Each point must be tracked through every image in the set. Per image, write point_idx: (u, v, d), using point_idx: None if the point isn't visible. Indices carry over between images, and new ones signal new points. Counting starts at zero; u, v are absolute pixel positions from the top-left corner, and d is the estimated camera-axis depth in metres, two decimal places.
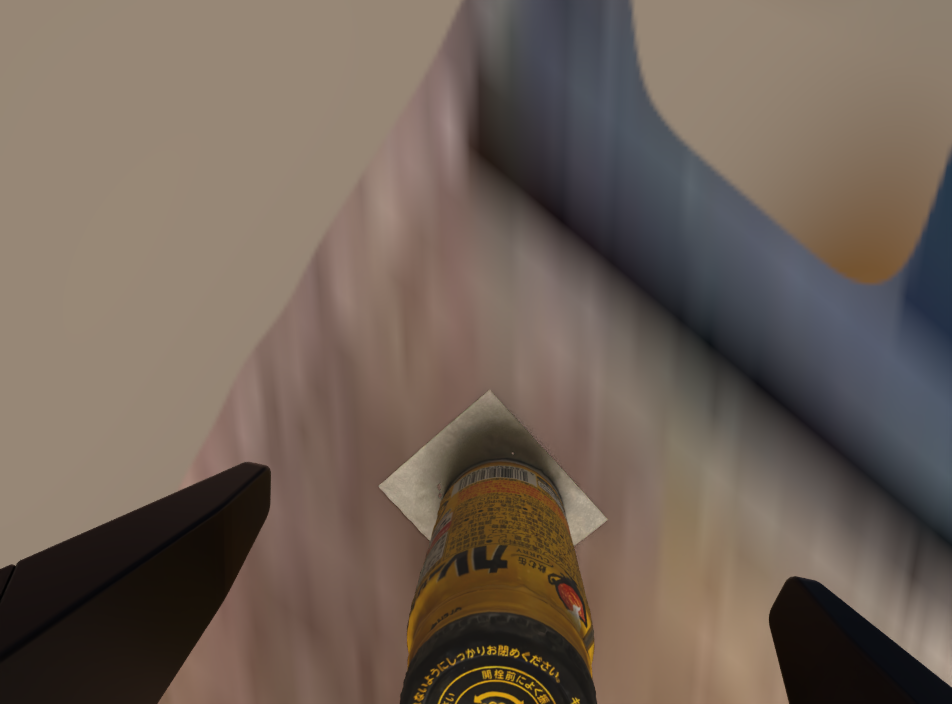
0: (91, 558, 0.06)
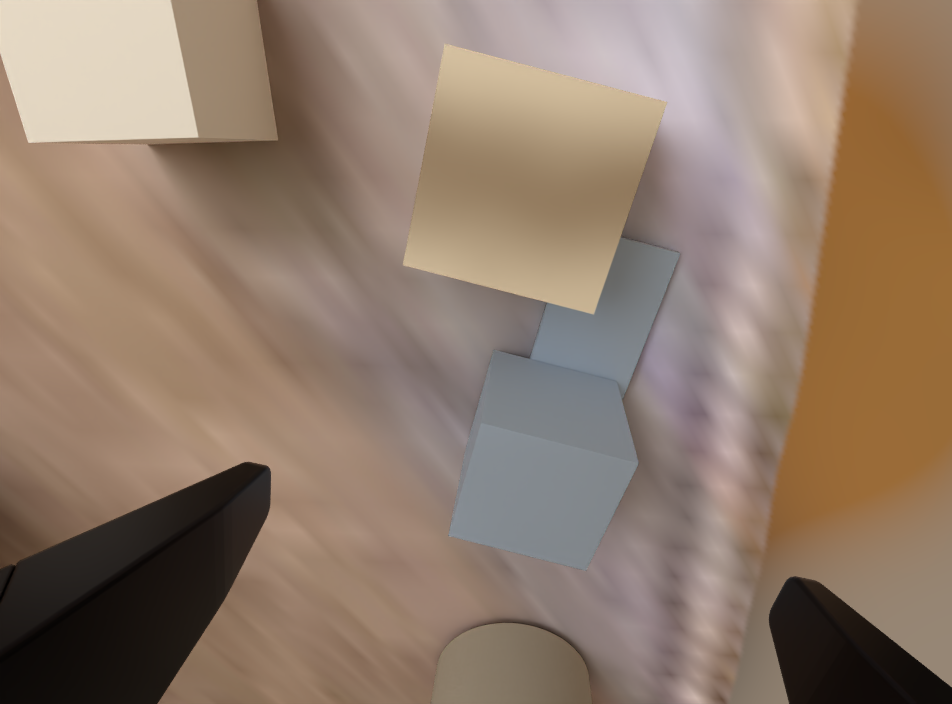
0: (91, 558, 0.06)
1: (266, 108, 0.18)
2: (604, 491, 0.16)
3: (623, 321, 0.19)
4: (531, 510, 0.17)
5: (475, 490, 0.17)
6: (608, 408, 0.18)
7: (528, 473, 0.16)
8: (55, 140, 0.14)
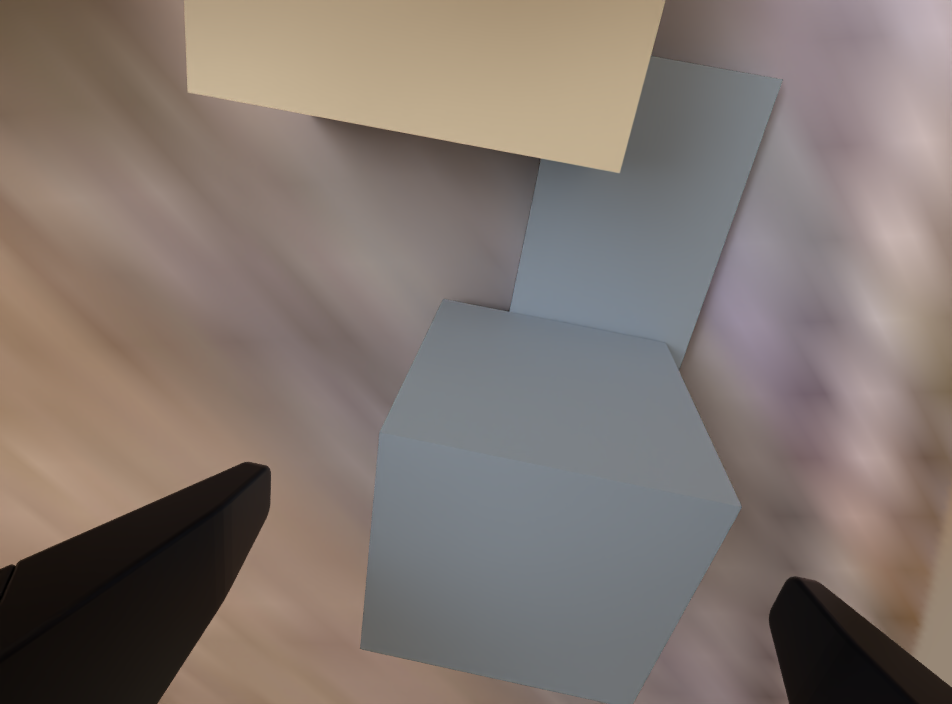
0: (91, 558, 0.06)
1: None
2: (663, 566, 0.08)
3: (674, 228, 0.11)
4: (512, 604, 0.08)
5: (395, 569, 0.08)
6: (656, 389, 0.09)
7: (498, 534, 0.08)
8: None
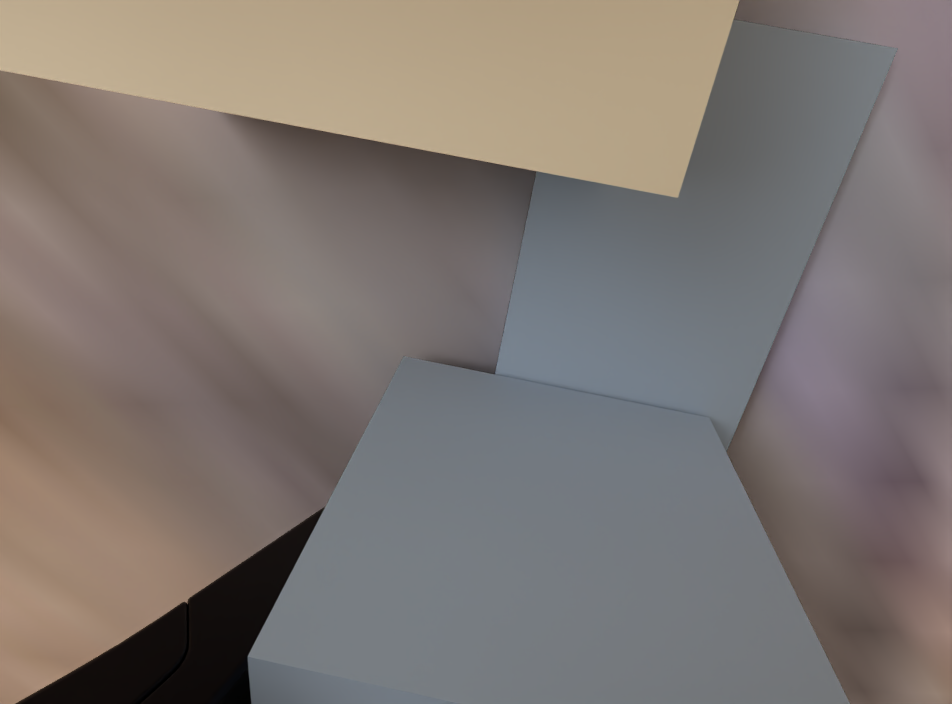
0: (256, 594, 0.06)
1: None
2: None
3: (726, 264, 0.07)
4: None
5: None
6: (709, 510, 0.06)
7: None
8: None
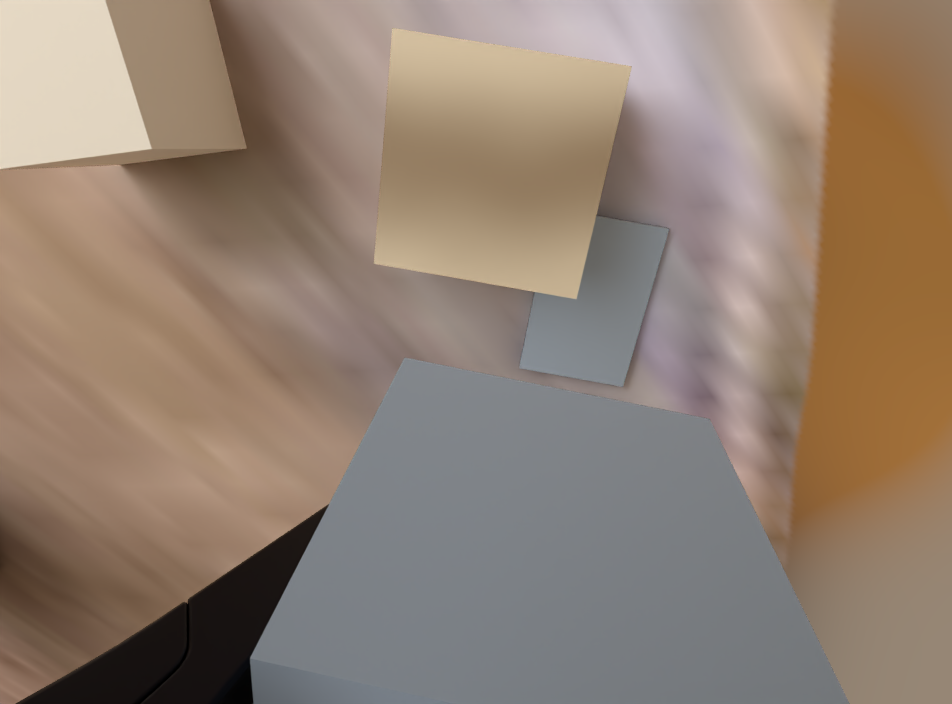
0: (256, 594, 0.06)
1: (230, 116, 0.17)
2: None
3: (616, 305, 0.19)
4: None
5: None
6: (710, 512, 0.06)
7: None
8: (14, 165, 0.14)
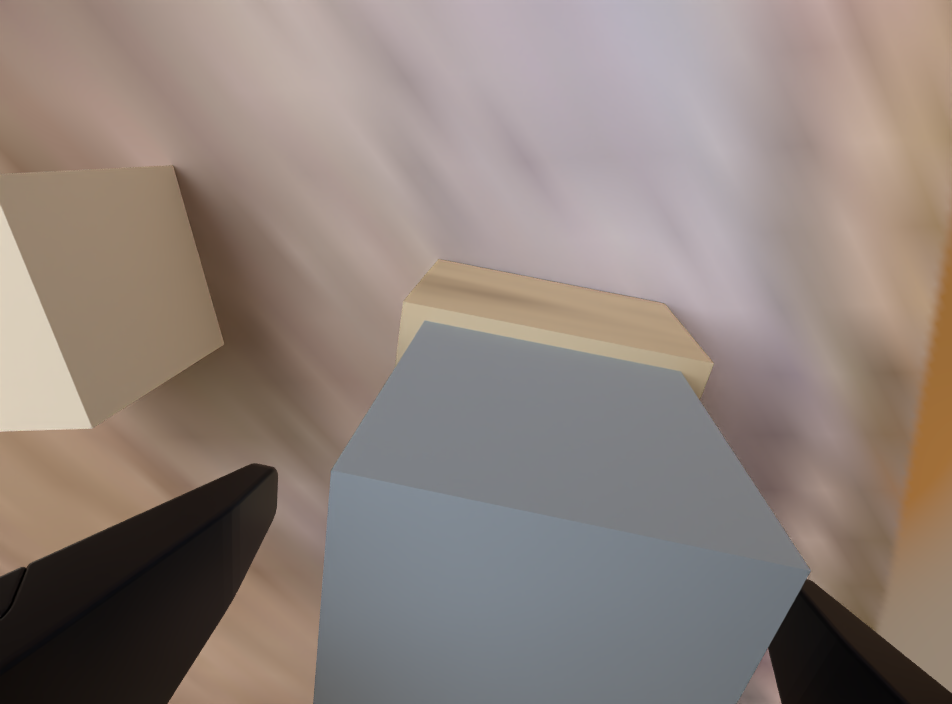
0: (102, 560, 0.06)
1: (204, 317, 0.14)
2: (705, 652, 0.06)
3: None
4: (505, 702, 0.06)
5: (353, 655, 0.06)
6: (678, 422, 0.08)
7: (487, 609, 0.06)
8: None
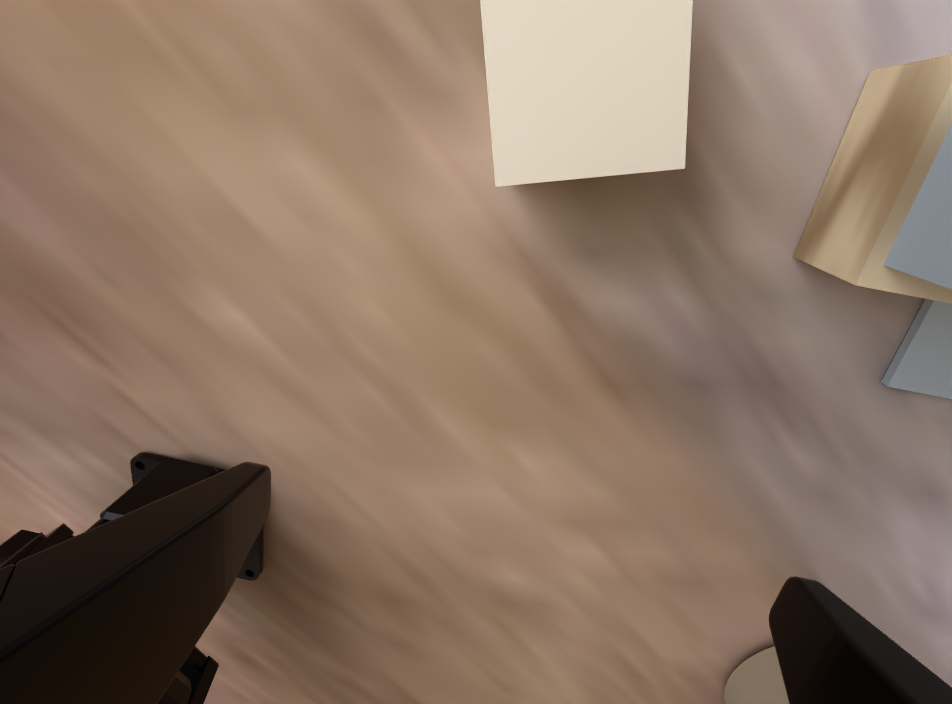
0: (91, 558, 0.06)
1: None
2: None
3: None
4: None
5: None
6: None
7: None
8: (526, 182, 0.14)
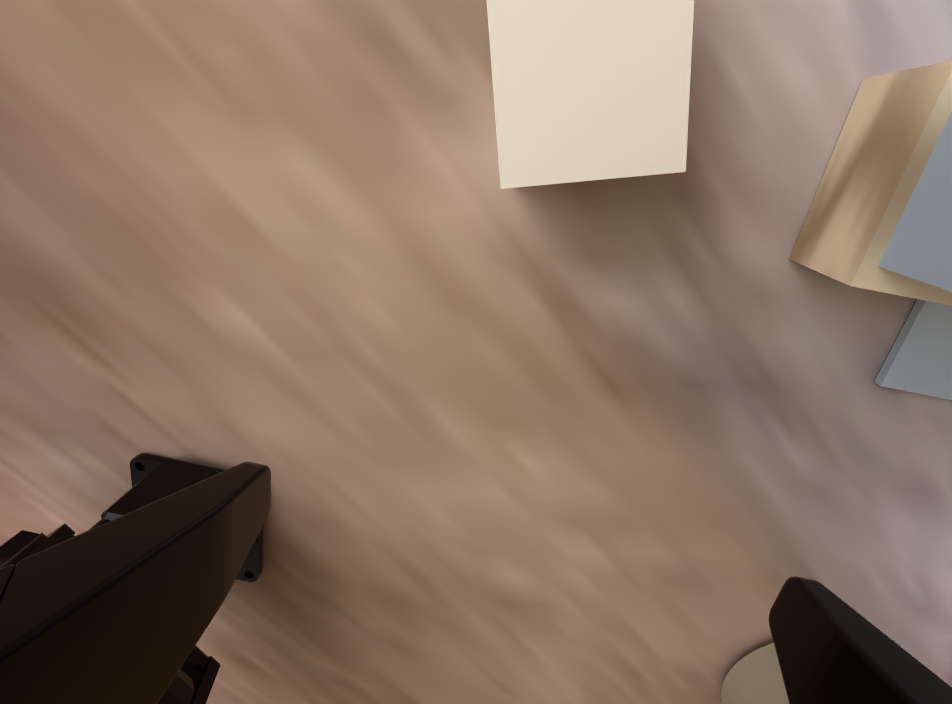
0: (91, 558, 0.06)
1: None
2: None
3: None
4: None
5: None
6: None
7: None
8: (530, 184, 0.14)
